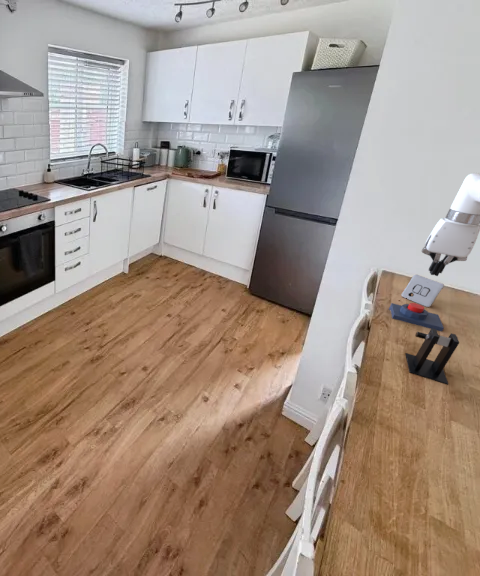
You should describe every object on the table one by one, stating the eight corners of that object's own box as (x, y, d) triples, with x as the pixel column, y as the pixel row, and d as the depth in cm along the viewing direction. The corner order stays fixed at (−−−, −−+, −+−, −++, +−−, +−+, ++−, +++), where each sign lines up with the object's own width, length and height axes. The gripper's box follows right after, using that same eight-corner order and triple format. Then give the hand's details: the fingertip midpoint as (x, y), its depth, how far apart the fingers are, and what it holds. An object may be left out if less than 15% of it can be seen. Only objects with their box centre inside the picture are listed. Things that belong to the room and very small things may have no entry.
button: (421, 309, 123) (423, 305, 122) (422, 314, 120) (425, 310, 119) (406, 306, 125) (408, 301, 124) (407, 311, 122) (410, 306, 121)
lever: (414, 337, 107) (417, 329, 106) (436, 343, 104) (439, 335, 104) (429, 342, 95) (433, 333, 95) (454, 349, 93) (458, 340, 92)
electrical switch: (399, 296, 139) (412, 274, 135) (406, 295, 141) (418, 273, 137) (428, 308, 132) (442, 285, 128) (434, 306, 134) (448, 283, 130)
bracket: (403, 356, 105) (422, 321, 100) (439, 366, 101) (460, 331, 96) (407, 375, 97) (428, 338, 92) (446, 387, 94) (470, 350, 88)
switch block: (435, 320, 124) (441, 310, 122) (440, 333, 117) (446, 323, 115) (388, 308, 130) (393, 298, 128) (391, 320, 123) (396, 310, 121)
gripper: (493, 219, 107) (461, 276, 115) (429, 210, 114) (403, 264, 122) (501, 226, 101) (467, 285, 110) (433, 215, 108) (405, 271, 117)
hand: (433, 273), depth 116 cm, fingers closed
